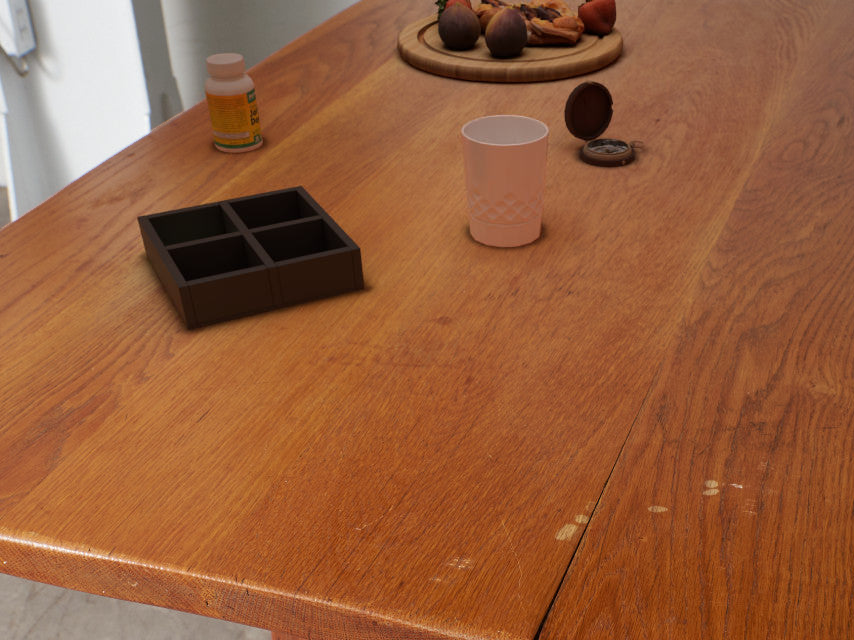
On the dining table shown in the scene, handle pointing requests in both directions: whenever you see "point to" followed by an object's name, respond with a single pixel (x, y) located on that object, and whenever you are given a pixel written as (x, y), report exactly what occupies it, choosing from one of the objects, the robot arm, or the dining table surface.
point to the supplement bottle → (232, 104)
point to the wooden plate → (513, 40)
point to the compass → (596, 126)
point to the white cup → (505, 178)
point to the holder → (250, 256)
